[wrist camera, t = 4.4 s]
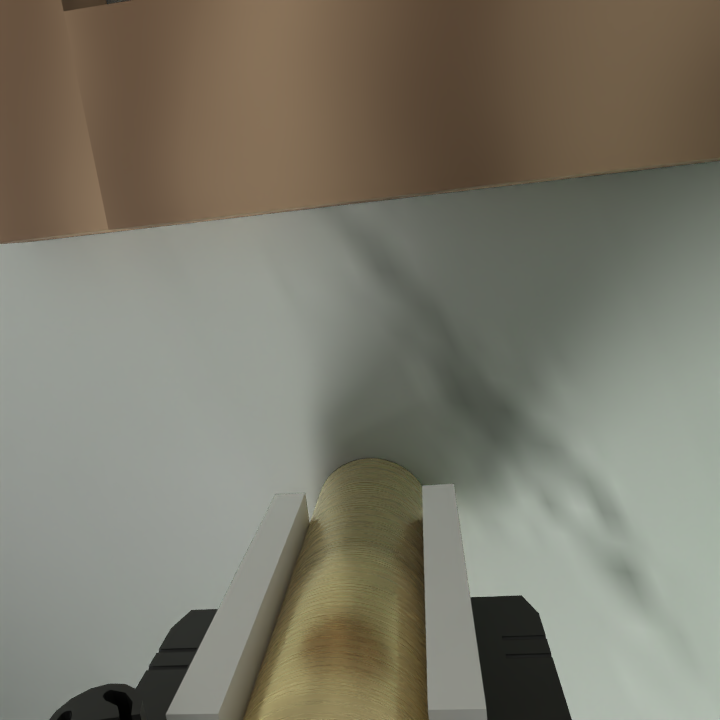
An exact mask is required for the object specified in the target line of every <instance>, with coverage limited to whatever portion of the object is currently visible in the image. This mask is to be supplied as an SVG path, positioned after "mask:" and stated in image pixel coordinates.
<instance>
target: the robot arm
mask: <svg viewBox="0 0 720 720" xmlns="http://www.w3.org/2000/svg"><path fill="white" fill-rule="evenodd" d="M422 504H423V542H424V580H425V619H426V657H427V695H428V716H429V720H572V719H571V716H570V713H569V709H568V706H567V703H566V700H565V697H564V693H563V690H562V687H561V684H560V680H559V677H558V674H557V671H556V668H555V664H554V661H553V658H552V657H551V651H550V648H549V645H548V642H547V639H546V636H545V632H544V629H543V626H542V622H541V619H540V616H539V613H538V612H537V611H536V610H535V609H534V608H533V607H532V606H531V605H530V604H529V603H528V602H527V601H526V600H525V598H524V597H523V596H496V597H470V592H469V585H468V578H467V571H466V564H465V558H464V551H463V544H462V537H461V530H460V523H459V516H458V509H457V502H456V495H455V488H454V484H441V485H424V486H422ZM309 524H310V523H309V516H308V510H307V503H306V496H305V493H293V494H277V495H275V496H274V498H273V500H272V502H271V504H270V506H269V508H268V510H267V512H266V514H265V516H264V518H263V520H262V522H261V524H260V526H259V528H258V530H257V532H256V534H255V536H254V538H253V540H252V542H251V544H250V546H249V548H248V550H247V552H246V554H245V556H244V558H243V560H242V562H241V564H240V566H239V568H238V570H237V572H236V574H235V576H234V578H233V580H232V582H231V584H230V586H229V588H228V590H227V592H226V594H225V596H224V598H223V600H222V602H221V604H220V606H219V608H218V609H208V610H191V611H190V612H189V613H188V614H187V615H186V616H184V617H183V618H182V619H181V620H180V621H179V622H178V623H177V624H175V625H174V626H173V627H172V628H171V630H170V631H169V633H168V635H167V636H166V638H165V640H164V641H163V643H162V645H161V647H160V648H159V653H156V655H155V657H154V658H153V660H152V662H151V664H150V665H149V670H146V672H145V674H144V676H143V677H142V679H141V681H140V682H139V684H138V686H137V687H136V689H135V688H132V687H130V686H128V685H126V684H106V685H103V686H99V687H95V688H91V689H89V690H87V691H85V692H83V693H81V694H80V695H78V696H76V697H74V698H72V699H71V700H69V701H68V702H67V703H66V704H64V705H63V706H62V707H61V708H59V709H58V710H57V711H56V712H55V713H54V714H53V715H52V717H51V718H50V719H49V720H243V718H244V715H245V712H246V709H247V706H248V703H249V700H250V697H251V695H252V692H253V689H254V686H255V683H256V680H257V677H258V674H259V671H260V668H261V665H262V662H263V659H264V656H265V653H266V650H267V648H268V645H269V642H270V639H271V636H272V633H273V630H274V627H275V624H276V621H277V618H278V615H279V612H280V609H281V606H282V603H283V601H284V598H285V595H286V592H287V589H288V586H289V583H290V580H291V577H292V574H293V571H294V568H295V565H296V562H297V559H298V556H299V554H300V551H301V548H302V545H303V542H304V539H305V536H306V533H307V530H308V527H309Z"/></svg>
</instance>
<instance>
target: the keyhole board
mask: <svg viewBox="0 0 720 720" xmlns="http://www.w3.org/2000/svg"><path fill="white" fill-rule="evenodd" d="M714 161H720V0H130V1H124V2H118V3H112V4H107V2H106V0H0V244H7V243H21V242H32V241H41V240H49V239H58V238H66V237H75V236H83V235H92V234H101V233H109V232H118V231H126V230H135V229H143V228H152V227H160V226H169V225H177V224H186V223H194V222H203V221H211V220H220V219H228V218H237V217H245V216H254V215H262V214H271V213H279V212H288V211H296V210H305V209H313V208H322V207H330V206H339V205H348V204H356V203H365V202H373V201H382V200H390V199H399V198H407V197H416V196H424V195H433V194H441V193H450V192H458V191H467V190H475V189H484V188H492V187H501V186H509V185H518V184H526V183H535V182H543V181H552V180H560V179H569V178H577V177H586V176H595V175H603V174H612V173H620V172H629V171H637V170H646V169H654V168H663V167H671V166H680V165H688V164H697V163H705V162H714Z"/></svg>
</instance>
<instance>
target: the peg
mask: <svg viewBox="0 0 720 720" xmlns="http://www.w3.org/2000/svg"><path fill="white" fill-rule="evenodd" d="M243 720H429V716H428V695H427V657H426V619H425V580H424V542H423V504H422V486H421V484H420V483H419V481H418V480H417V479H416V478H415V477H414V476H413V475H412V474H411V473H410V472H409V471H408V470H406V469H405V468H403V467H402V466H400V465H398V464H396V463H393V462H390V461H387V460H383V459H376V458H366V459H359V460H355V461H352V462H349V463H347V464H345V465H343V466H341V467H340V468H338V469H337V470H336V471H334V472H333V473H332V474H331V475H330V476H329V478H328V479H327V480H326V482H325V483H324V485H323V487H322V489H321V492H320V495H319V498H318V501H317V504H316V507H315V509H314V512H313V515H312V518H311V521H310V524H309V527H308V530H307V533H306V536H305V539H304V542H303V545H302V548H301V551H300V554H299V556H298V559H297V562H296V565H295V568H294V571H293V574H292V577H291V580H290V583H289V586H288V589H287V592H286V595H285V598H284V601H283V603H282V606H281V609H280V612H279V615H278V618H277V621H276V624H275V627H274V630H273V633H272V636H271V639H270V642H269V645H268V648H267V650H266V653H265V656H264V659H263V662H262V665H261V668H260V671H259V674H258V677H257V680H256V683H255V686H254V689H253V692H252V695H251V697H250V700H249V703H248V706H247V709H246V712H245V715H244V718H243Z"/></svg>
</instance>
